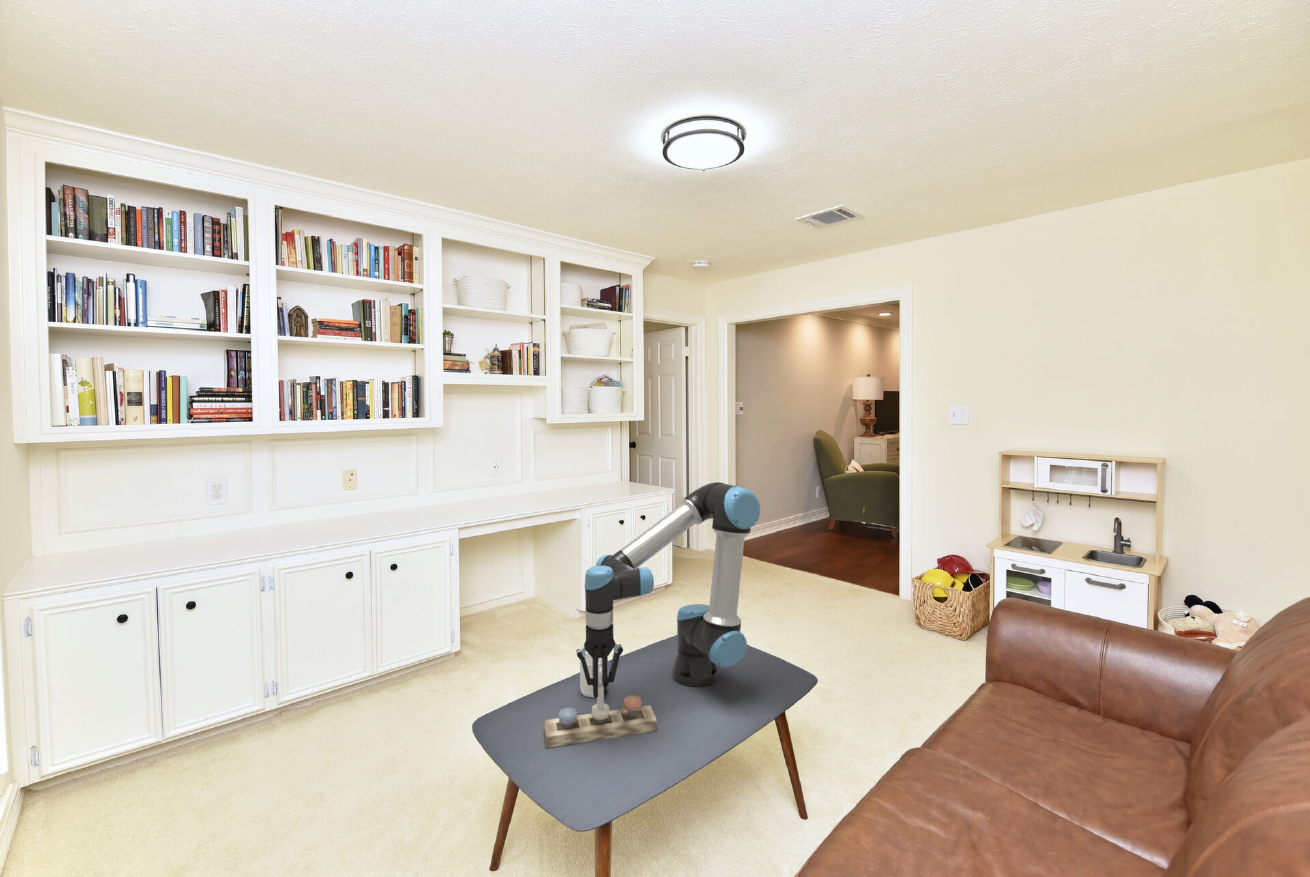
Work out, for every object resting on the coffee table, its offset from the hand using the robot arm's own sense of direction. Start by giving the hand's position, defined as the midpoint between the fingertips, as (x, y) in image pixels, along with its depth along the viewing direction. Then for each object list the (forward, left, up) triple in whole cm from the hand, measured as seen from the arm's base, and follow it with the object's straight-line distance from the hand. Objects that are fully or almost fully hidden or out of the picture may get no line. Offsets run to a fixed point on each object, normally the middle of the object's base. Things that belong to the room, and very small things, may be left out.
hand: (600, 707), depth 160 cm
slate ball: (+9, 0, -5) cm, 10 cm away
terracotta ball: (-9, 0, -4) cm, 10 cm away
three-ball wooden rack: (0, 0, -7) cm, 7 cm away
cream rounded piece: (0, 0, -5) cm, 5 cm away
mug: (-2, -20, -7) cm, 21 cm away
